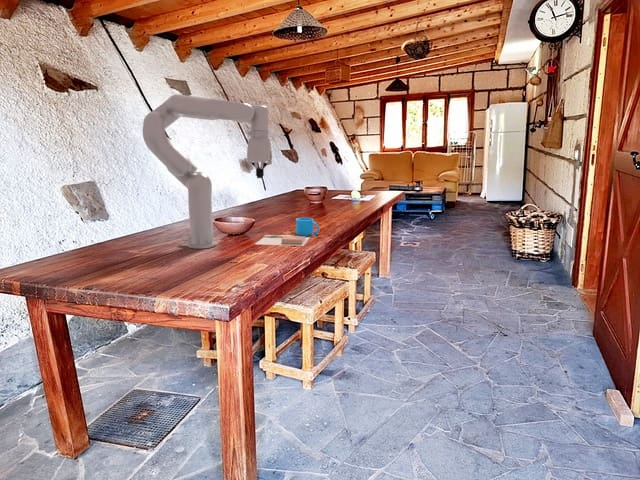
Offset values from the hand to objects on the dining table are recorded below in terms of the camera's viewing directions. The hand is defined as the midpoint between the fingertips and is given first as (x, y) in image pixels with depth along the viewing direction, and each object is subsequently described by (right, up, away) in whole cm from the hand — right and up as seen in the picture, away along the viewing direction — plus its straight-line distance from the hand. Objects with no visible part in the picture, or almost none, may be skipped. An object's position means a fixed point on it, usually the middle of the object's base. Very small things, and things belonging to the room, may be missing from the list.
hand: (259, 177), depth 206 cm
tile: (+10, -27, -2) cm, 29 cm away
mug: (+21, -26, +16) cm, 37 cm away
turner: (+10, -26, +8) cm, 29 cm away
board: (+10, -29, +1) cm, 31 cm away
